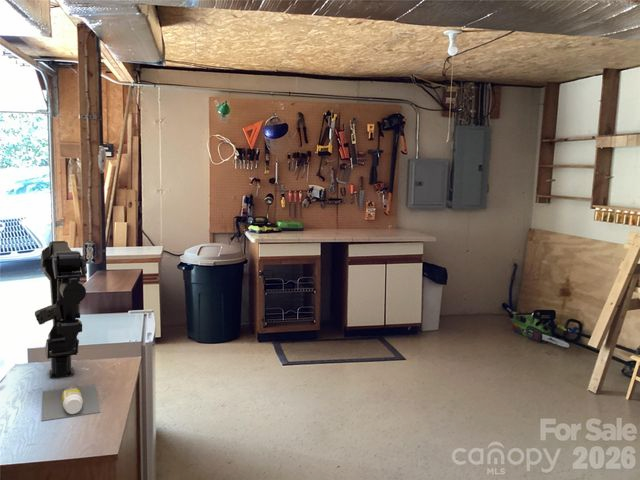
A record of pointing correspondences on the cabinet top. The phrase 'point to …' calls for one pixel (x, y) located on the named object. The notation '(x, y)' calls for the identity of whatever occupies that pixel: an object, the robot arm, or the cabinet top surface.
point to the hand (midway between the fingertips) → (69, 348)
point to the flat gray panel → (54, 403)
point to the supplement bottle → (72, 400)
